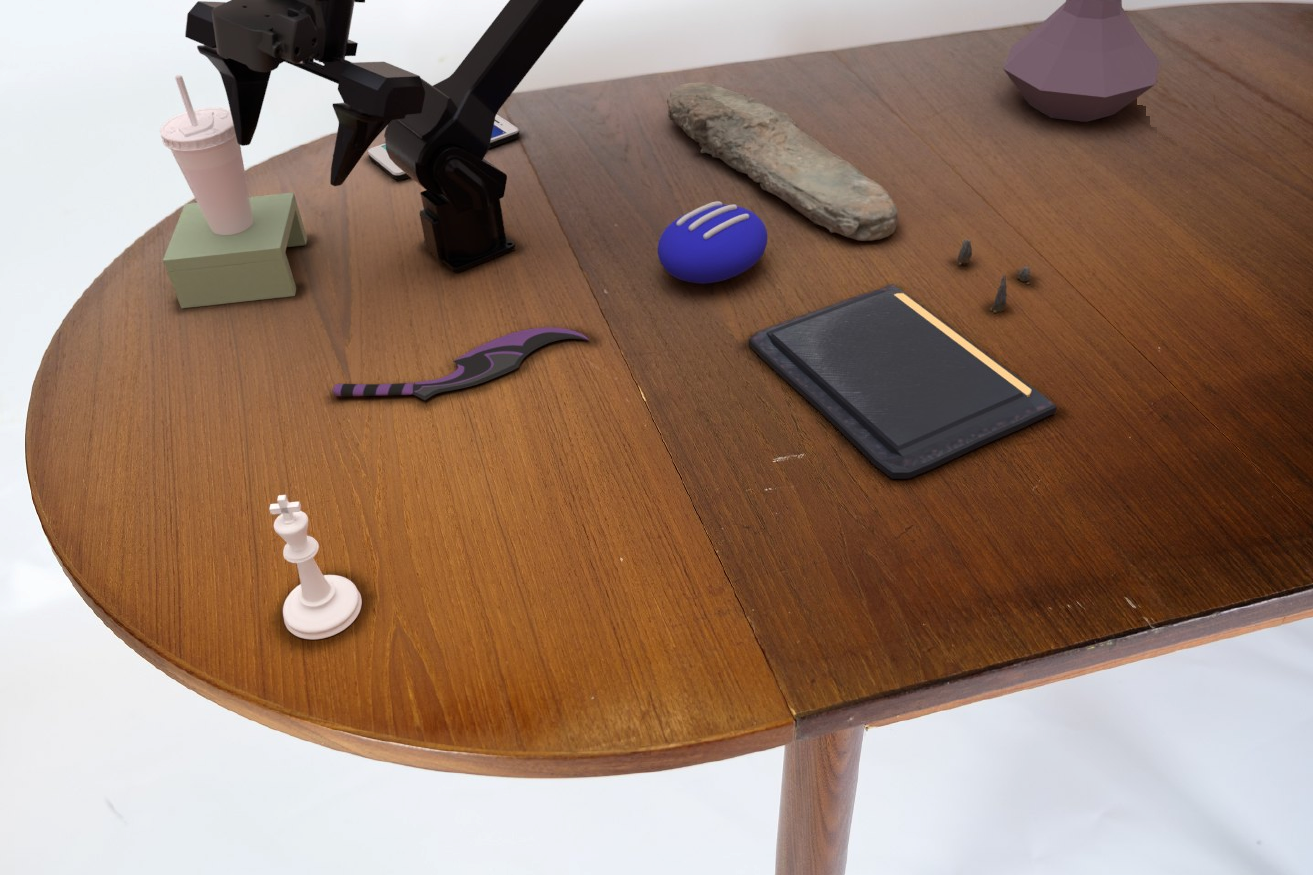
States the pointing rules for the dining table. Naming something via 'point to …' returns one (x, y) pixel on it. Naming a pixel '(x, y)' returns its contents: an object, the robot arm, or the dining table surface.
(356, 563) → the dining table surface
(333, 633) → the chess piece
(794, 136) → the long grey stone
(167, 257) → the green box
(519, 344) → the knife
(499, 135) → the smartphone
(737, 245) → the decorative object
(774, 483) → the dining table surface
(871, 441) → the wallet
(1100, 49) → the flask
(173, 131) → the smoothie
